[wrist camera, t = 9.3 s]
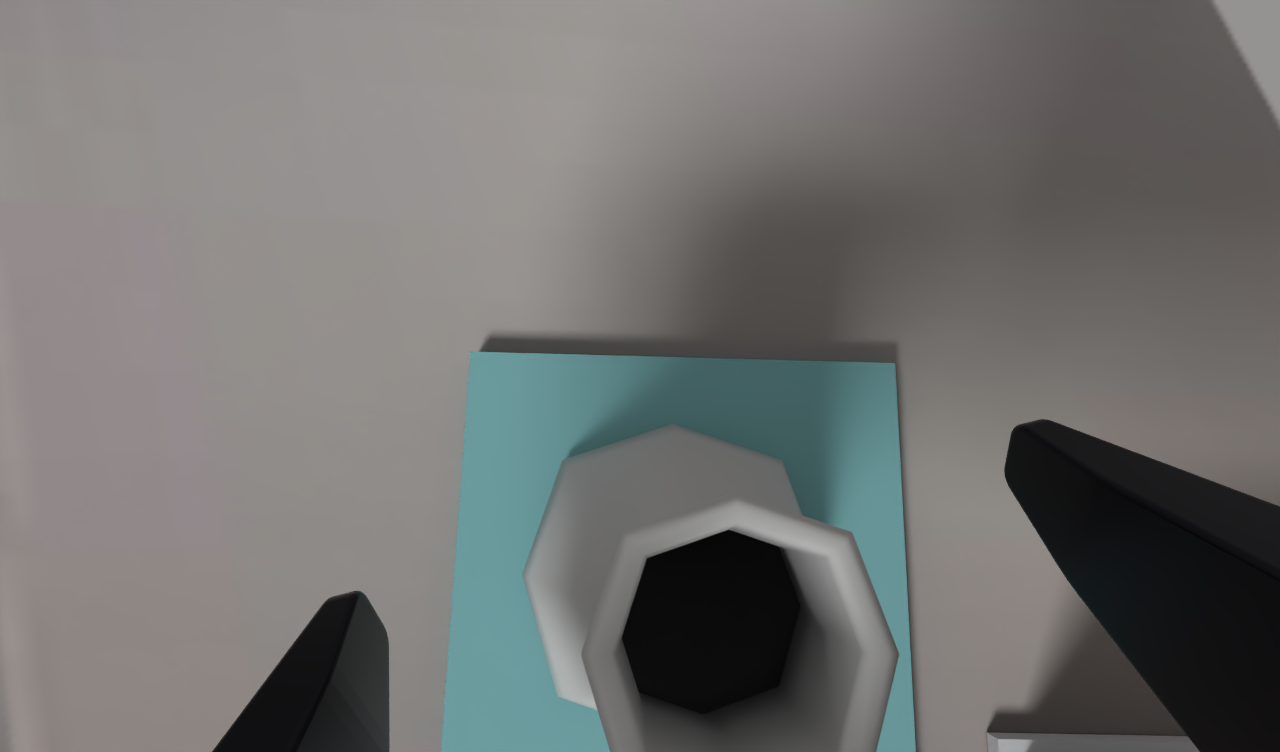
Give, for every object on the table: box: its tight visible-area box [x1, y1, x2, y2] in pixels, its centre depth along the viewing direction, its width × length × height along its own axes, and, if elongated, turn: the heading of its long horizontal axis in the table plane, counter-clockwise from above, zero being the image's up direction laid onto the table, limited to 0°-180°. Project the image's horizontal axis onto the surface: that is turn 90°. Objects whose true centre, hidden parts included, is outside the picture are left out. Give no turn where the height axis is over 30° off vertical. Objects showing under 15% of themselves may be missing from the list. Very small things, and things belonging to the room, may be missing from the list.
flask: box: [522, 424, 899, 752], centre depth 12 cm, size 7×7×10 cm
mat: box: [441, 352, 916, 752], centre depth 17 cm, size 11×11×1 cm
